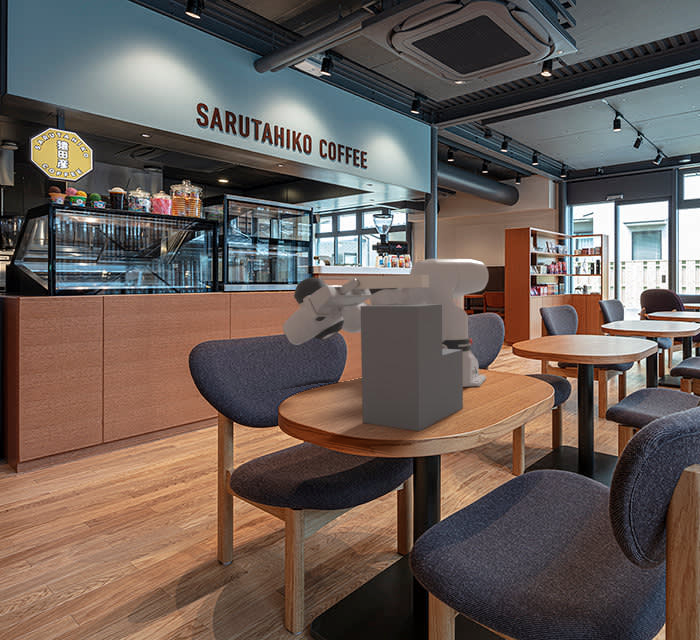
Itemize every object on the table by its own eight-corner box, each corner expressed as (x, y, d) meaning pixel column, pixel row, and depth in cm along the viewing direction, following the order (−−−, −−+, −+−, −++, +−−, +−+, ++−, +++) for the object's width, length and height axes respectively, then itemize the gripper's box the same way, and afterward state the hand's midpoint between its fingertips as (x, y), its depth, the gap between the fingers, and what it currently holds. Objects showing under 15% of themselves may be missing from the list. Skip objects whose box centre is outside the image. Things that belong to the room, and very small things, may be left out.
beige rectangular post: (357, 289, 135) (356, 277, 135) (429, 287, 123) (428, 274, 123) (348, 289, 132) (348, 277, 132) (421, 287, 120) (421, 274, 120)
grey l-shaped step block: (412, 402, 133) (410, 303, 131) (462, 408, 125) (462, 302, 124) (362, 422, 113) (360, 306, 112) (419, 431, 105) (417, 306, 104)
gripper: (353, 315, 147) (388, 291, 139) (308, 320, 130) (346, 292, 123) (343, 297, 148) (378, 271, 141) (298, 298, 131) (335, 270, 124)
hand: (363, 281), depth 132 cm, fingers closed on beige rectangular post, 4 cm apart
